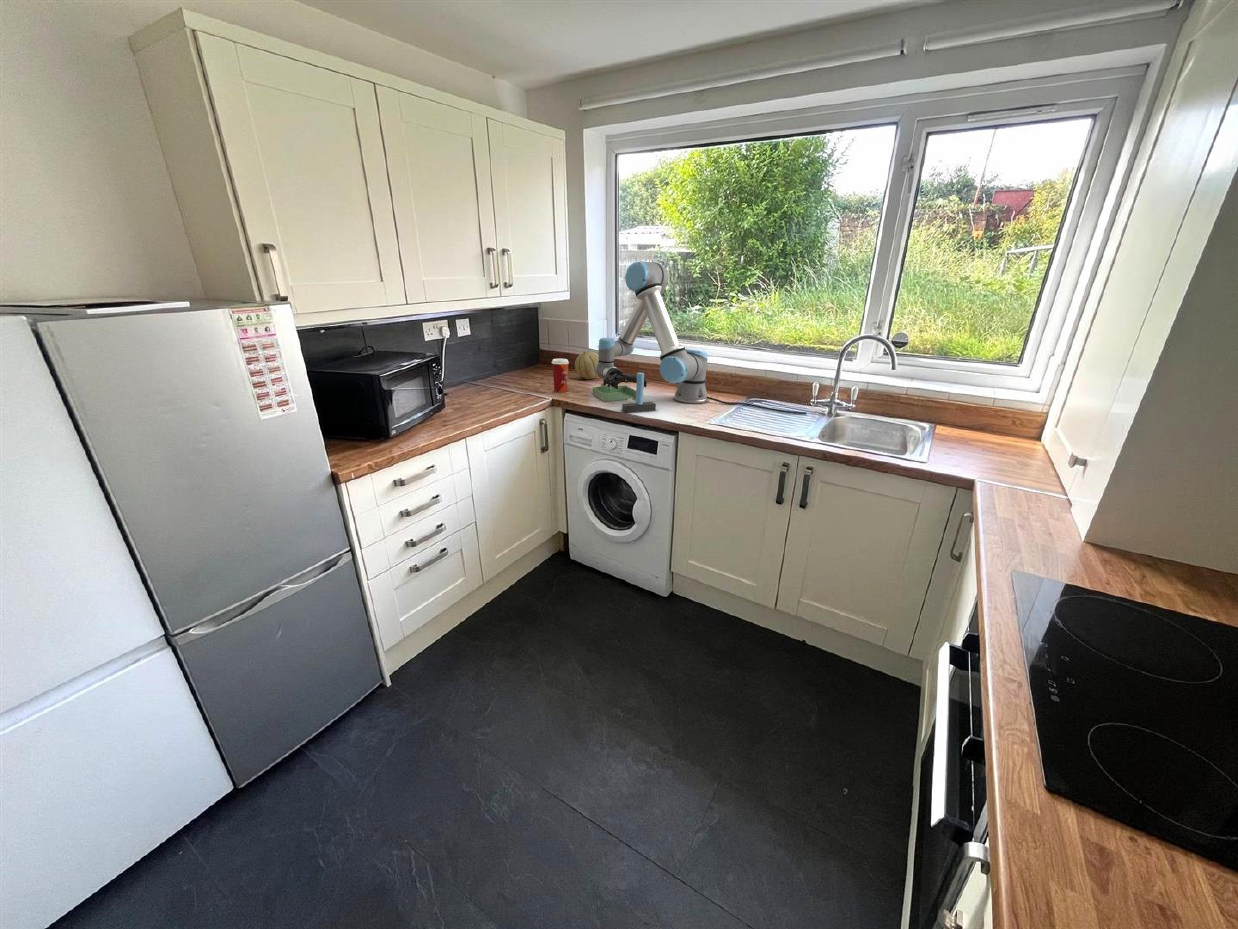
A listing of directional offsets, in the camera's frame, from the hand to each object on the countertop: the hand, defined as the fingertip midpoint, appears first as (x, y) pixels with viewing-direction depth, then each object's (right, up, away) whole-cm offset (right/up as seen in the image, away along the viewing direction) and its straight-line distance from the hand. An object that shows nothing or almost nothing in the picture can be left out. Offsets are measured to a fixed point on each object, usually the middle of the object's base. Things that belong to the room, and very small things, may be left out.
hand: (631, 385), depth 216 cm
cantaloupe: (-22, +12, +54) cm, 59 cm away
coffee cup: (-34, +1, +26) cm, 43 cm away
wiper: (+3, -12, -4) cm, 12 cm away
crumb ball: (0, -7, +4) cm, 8 cm away
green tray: (-9, -1, +23) cm, 25 cm away
